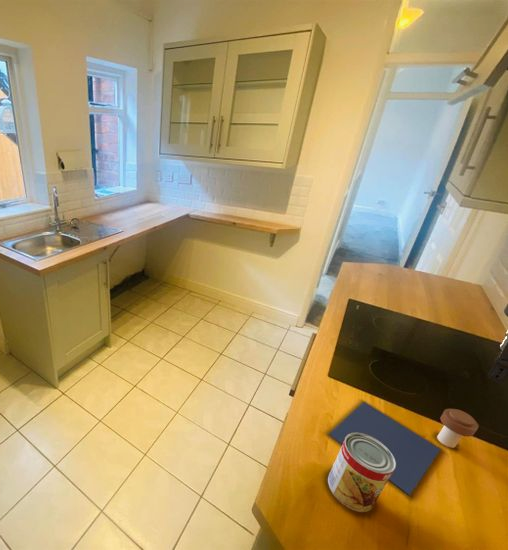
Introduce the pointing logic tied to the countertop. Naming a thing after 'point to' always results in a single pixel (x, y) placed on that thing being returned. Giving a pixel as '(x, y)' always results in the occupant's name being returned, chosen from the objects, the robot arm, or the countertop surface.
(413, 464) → the napkin
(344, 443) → the canned food
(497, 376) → the robot arm
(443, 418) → the mushroom
